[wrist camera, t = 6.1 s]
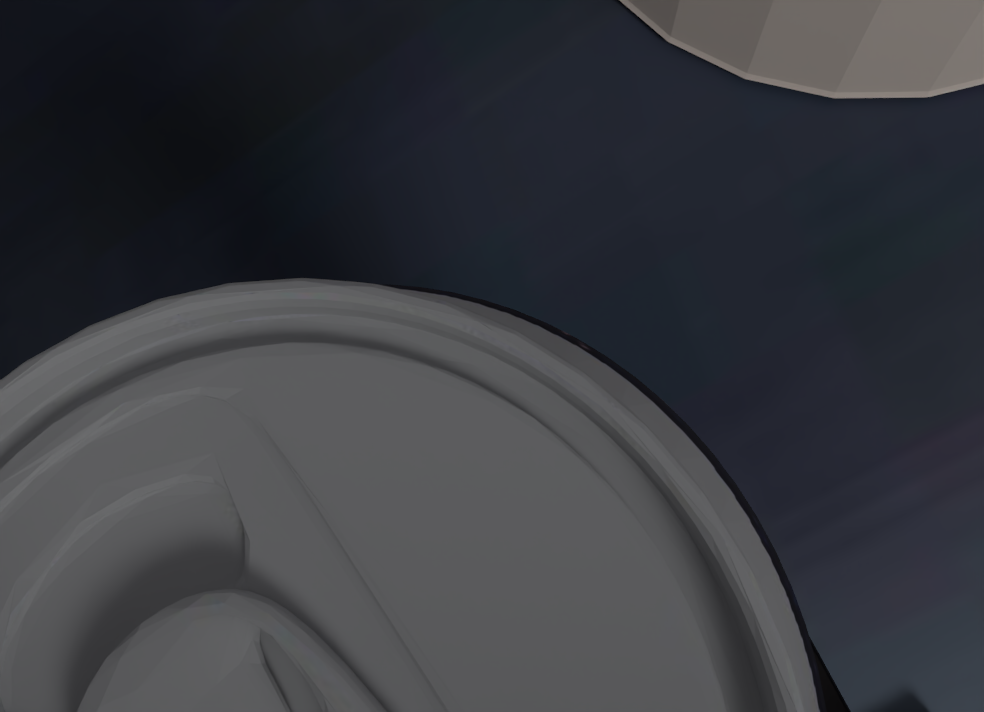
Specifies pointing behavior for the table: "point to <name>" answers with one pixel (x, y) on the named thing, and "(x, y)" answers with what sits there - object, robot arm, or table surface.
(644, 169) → the table surface
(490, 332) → the beverage can
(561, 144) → the table surface
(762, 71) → the kettle
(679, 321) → the table surface
